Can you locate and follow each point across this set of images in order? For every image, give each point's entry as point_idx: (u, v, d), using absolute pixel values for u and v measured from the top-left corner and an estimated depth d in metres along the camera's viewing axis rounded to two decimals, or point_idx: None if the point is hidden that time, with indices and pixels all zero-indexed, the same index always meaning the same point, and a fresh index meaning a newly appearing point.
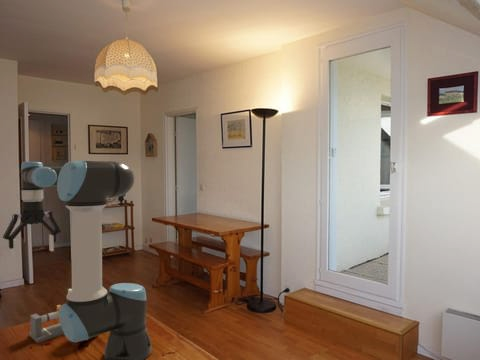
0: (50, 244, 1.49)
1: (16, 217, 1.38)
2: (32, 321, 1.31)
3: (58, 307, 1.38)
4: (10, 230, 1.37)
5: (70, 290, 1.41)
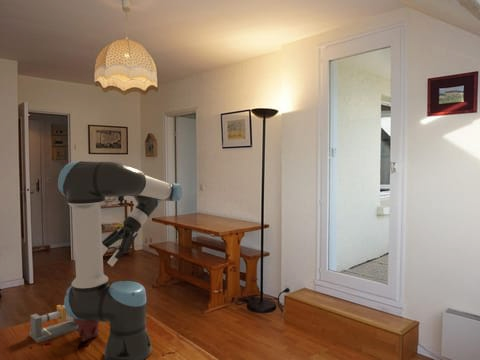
0: None
1: (117, 228, 1.60)
2: (32, 321, 1.31)
3: (58, 307, 1.38)
4: (108, 237, 1.59)
5: None
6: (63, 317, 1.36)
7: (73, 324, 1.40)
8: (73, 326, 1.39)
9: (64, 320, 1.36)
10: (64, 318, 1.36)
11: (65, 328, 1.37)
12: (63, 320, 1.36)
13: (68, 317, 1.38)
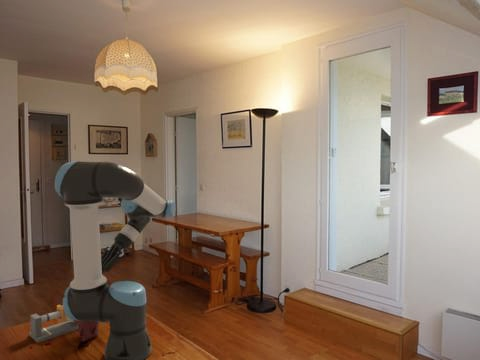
0: None
1: (106, 248, 1.57)
2: (32, 321, 1.31)
3: (58, 307, 1.38)
4: (100, 258, 1.53)
5: None
6: (63, 317, 1.36)
7: (73, 324, 1.40)
8: (73, 326, 1.39)
9: (64, 320, 1.36)
10: (64, 318, 1.36)
11: (65, 328, 1.37)
12: (63, 320, 1.36)
13: None
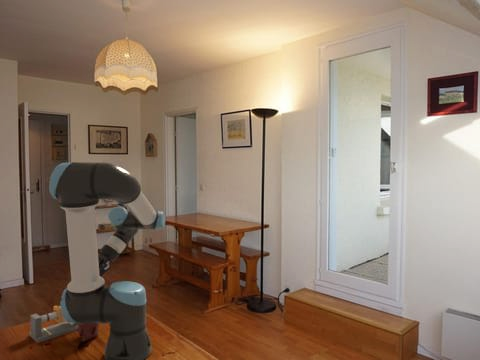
0: None
1: None
2: (32, 321, 1.31)
3: (55, 308, 1.37)
4: None
5: None
6: (60, 318, 1.35)
7: (73, 324, 1.40)
8: (73, 326, 1.39)
9: (61, 321, 1.35)
10: (61, 319, 1.35)
11: (65, 328, 1.37)
12: (60, 321, 1.35)
13: (64, 318, 1.37)
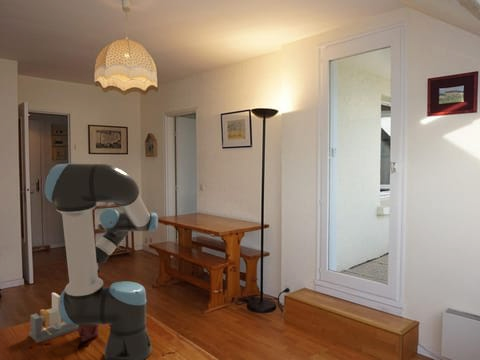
0: None
1: None
2: (32, 321, 1.31)
3: (42, 311, 1.33)
4: None
5: (54, 294, 1.36)
6: (47, 322, 1.32)
7: None
8: (73, 326, 1.39)
9: (48, 325, 1.32)
10: (48, 323, 1.32)
11: (65, 328, 1.37)
12: (47, 325, 1.32)
13: (51, 322, 1.33)
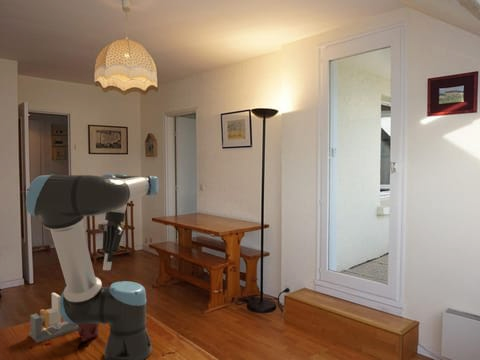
0: None
1: (103, 229, 1.50)
2: (32, 321, 1.31)
3: (42, 311, 1.33)
4: (103, 242, 1.48)
5: (53, 294, 1.36)
6: (46, 322, 1.32)
7: (73, 324, 1.40)
8: (73, 326, 1.39)
9: (48, 325, 1.32)
10: (48, 323, 1.32)
11: (65, 328, 1.37)
12: (46, 325, 1.32)
13: (51, 322, 1.33)
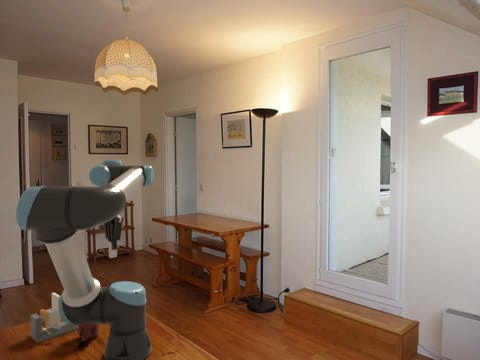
0: None
1: None
2: (32, 321, 1.31)
3: (42, 311, 1.33)
4: (105, 229, 1.46)
5: (53, 294, 1.36)
6: (46, 322, 1.32)
7: (73, 324, 1.40)
8: (73, 326, 1.39)
9: (48, 325, 1.32)
10: (48, 323, 1.32)
11: (65, 328, 1.37)
12: (46, 325, 1.32)
13: (51, 322, 1.33)
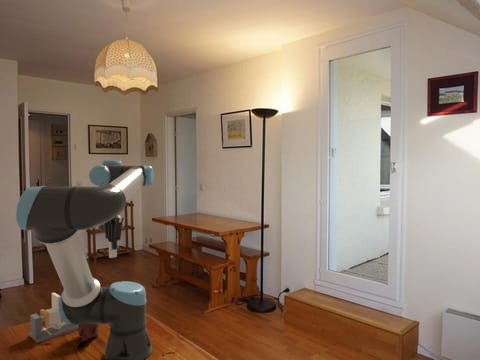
0: None
1: None
2: (32, 321, 1.31)
3: (42, 311, 1.33)
4: (105, 229, 1.46)
5: (53, 294, 1.36)
6: (46, 322, 1.32)
7: (73, 324, 1.40)
8: (73, 326, 1.39)
9: (48, 325, 1.32)
10: (48, 323, 1.32)
11: (65, 328, 1.37)
12: (46, 325, 1.32)
13: (51, 322, 1.33)
